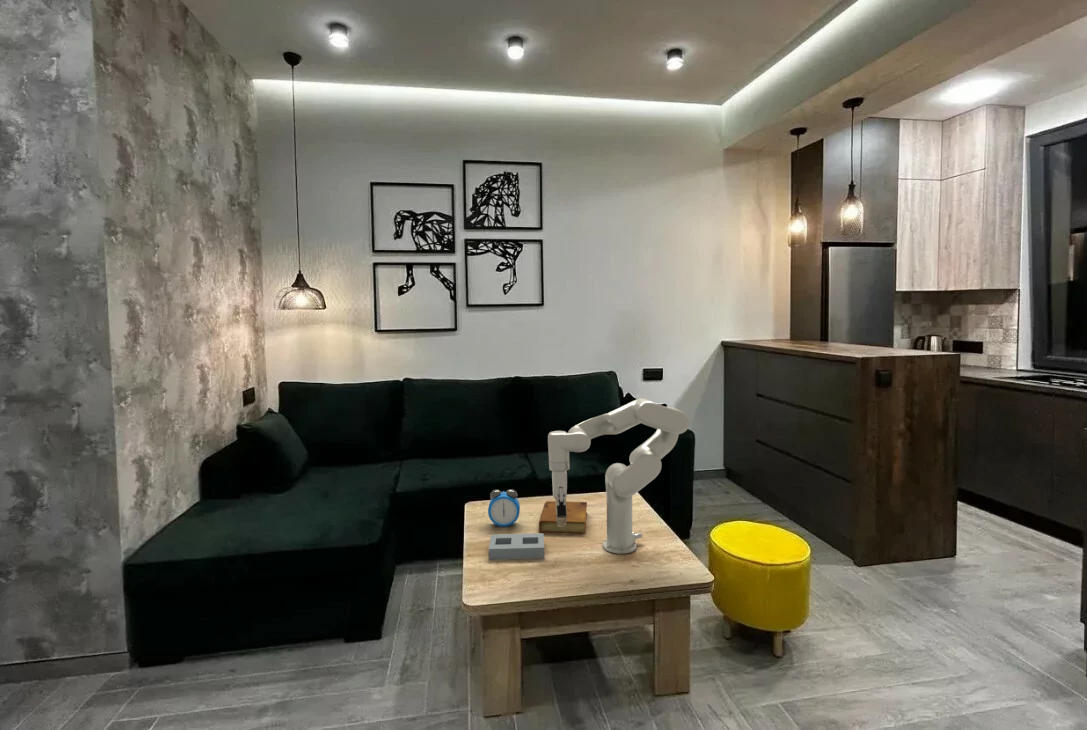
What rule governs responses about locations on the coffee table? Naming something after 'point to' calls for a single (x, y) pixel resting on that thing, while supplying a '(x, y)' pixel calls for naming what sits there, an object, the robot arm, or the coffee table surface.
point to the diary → (574, 518)
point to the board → (516, 546)
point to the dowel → (561, 519)
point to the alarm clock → (503, 507)
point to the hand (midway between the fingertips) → (561, 512)
